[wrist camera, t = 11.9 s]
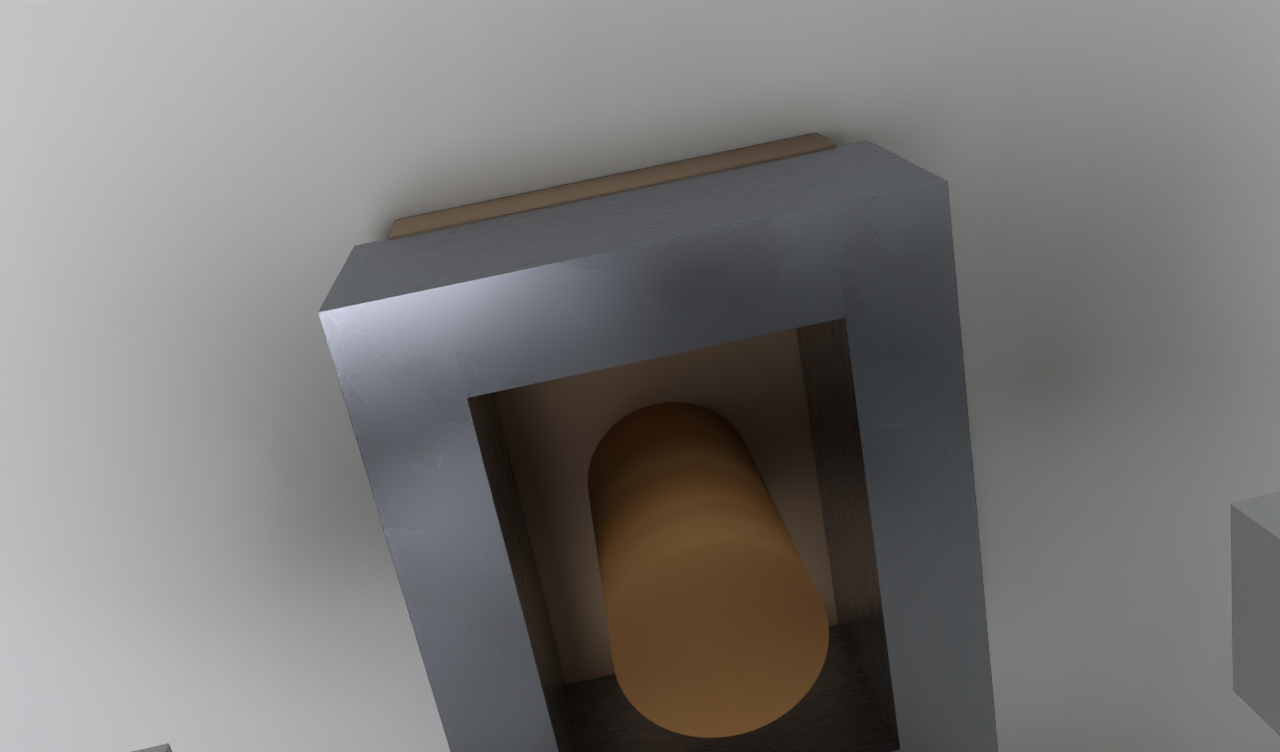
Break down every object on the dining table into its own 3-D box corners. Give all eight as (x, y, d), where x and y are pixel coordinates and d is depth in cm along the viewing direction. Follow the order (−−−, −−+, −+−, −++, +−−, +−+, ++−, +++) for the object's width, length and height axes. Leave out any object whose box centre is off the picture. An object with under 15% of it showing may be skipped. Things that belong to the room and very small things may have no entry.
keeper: (882, 642, 22) (1013, 881, 16) (530, 721, 22) (537, 992, 16) (815, 132, 19) (953, 210, 13) (395, 220, 18) (342, 339, 13)
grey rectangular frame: (927, 674, 21) (1003, 805, 18) (502, 769, 21) (501, 919, 18) (866, 139, 18) (947, 180, 14) (354, 245, 17) (318, 312, 14)
